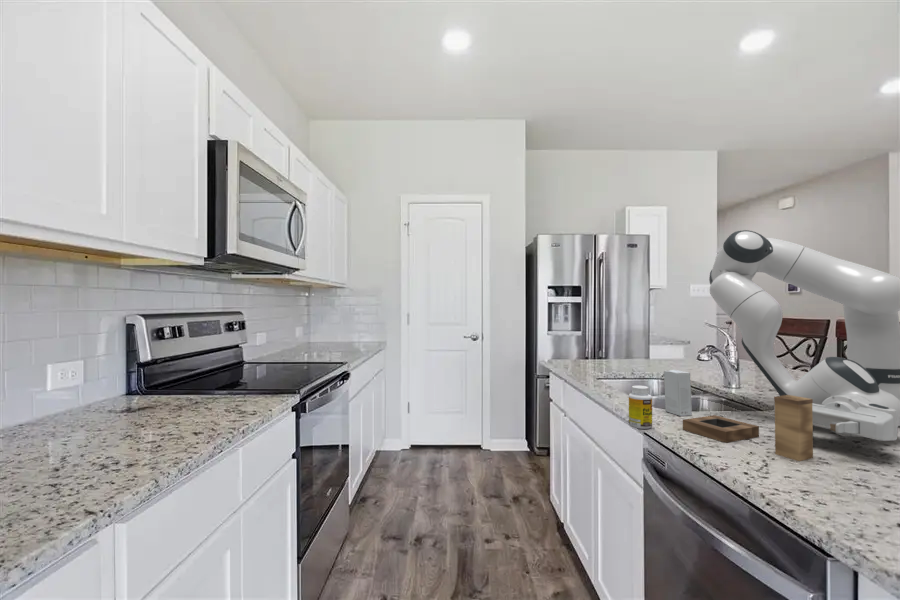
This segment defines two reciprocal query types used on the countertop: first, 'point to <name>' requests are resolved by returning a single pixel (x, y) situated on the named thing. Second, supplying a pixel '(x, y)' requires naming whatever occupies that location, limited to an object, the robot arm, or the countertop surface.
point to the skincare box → (677, 392)
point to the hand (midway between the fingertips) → (807, 421)
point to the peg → (793, 427)
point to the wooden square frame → (721, 428)
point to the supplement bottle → (640, 408)
